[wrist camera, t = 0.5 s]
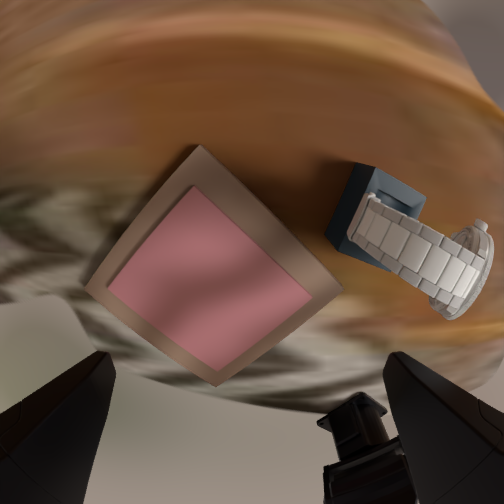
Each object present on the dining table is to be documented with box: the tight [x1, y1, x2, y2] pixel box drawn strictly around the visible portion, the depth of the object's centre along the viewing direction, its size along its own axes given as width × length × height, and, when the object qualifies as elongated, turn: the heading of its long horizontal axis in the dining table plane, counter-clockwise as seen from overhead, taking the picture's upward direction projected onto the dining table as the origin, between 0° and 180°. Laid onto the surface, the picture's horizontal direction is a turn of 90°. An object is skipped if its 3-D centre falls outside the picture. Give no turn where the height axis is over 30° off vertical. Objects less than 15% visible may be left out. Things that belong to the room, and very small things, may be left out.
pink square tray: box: [84, 145, 344, 387], centre depth 20 cm, size 14×14×1 cm
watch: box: [324, 162, 494, 320], centre depth 14 cm, size 6×8×11 cm
